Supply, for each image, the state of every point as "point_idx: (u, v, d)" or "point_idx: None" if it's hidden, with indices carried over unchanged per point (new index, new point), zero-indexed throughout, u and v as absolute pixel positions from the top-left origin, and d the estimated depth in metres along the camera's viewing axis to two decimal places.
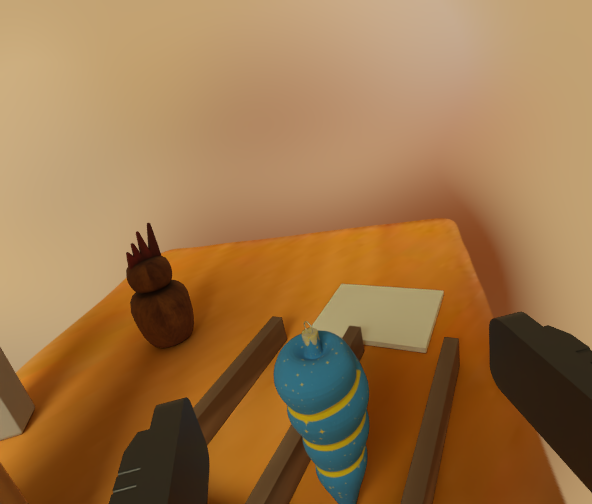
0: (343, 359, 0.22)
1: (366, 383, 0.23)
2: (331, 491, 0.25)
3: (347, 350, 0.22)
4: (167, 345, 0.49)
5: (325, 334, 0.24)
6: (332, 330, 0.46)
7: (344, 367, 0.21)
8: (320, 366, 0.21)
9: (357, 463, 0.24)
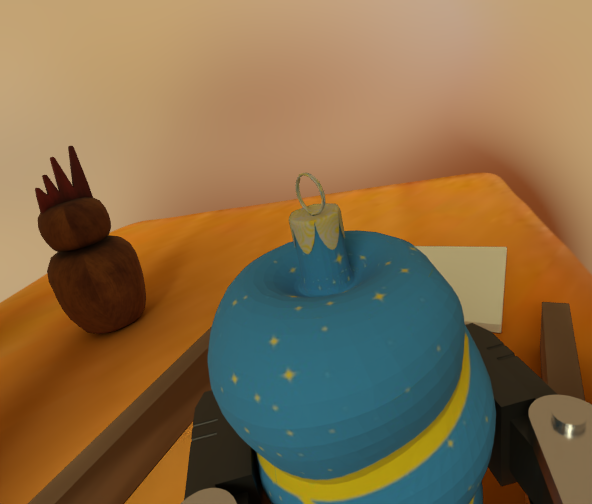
0: (431, 286, 0.06)
1: (486, 372, 0.08)
2: None
3: (434, 267, 0.07)
4: (104, 330, 0.34)
5: (360, 236, 0.08)
6: None
7: (441, 312, 0.06)
8: (355, 309, 0.06)
9: None
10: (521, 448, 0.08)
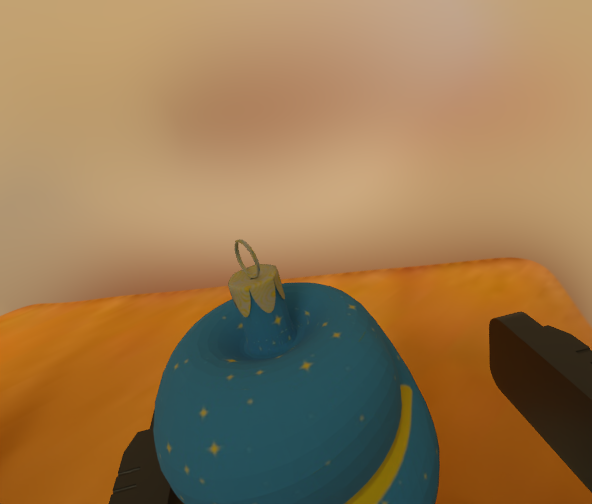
0: (359, 352, 0.06)
1: (430, 425, 0.08)
2: None
3: (371, 327, 0.07)
4: None
5: (307, 290, 0.08)
6: None
7: (366, 380, 0.06)
8: (281, 380, 0.06)
9: None
10: None
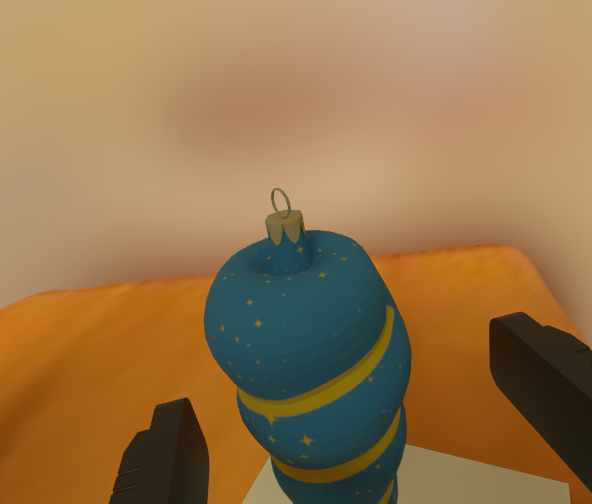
0: (360, 269, 0.09)
1: (406, 336, 0.11)
2: None
3: (367, 258, 0.10)
4: None
5: (320, 234, 0.11)
6: None
7: (363, 286, 0.09)
8: (305, 282, 0.09)
9: None
10: None
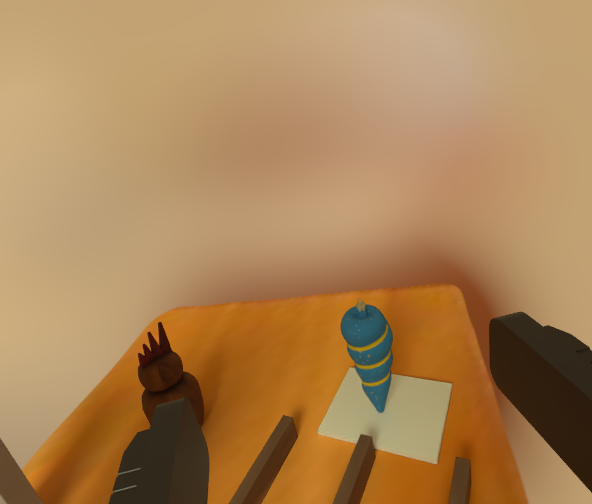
0: (379, 317, 0.41)
1: (391, 332, 0.43)
2: (371, 396, 0.45)
3: (381, 313, 0.42)
4: None
5: (368, 306, 0.43)
6: (342, 430, 0.46)
7: (380, 321, 0.41)
8: (368, 320, 0.41)
9: (386, 378, 0.44)
10: None
